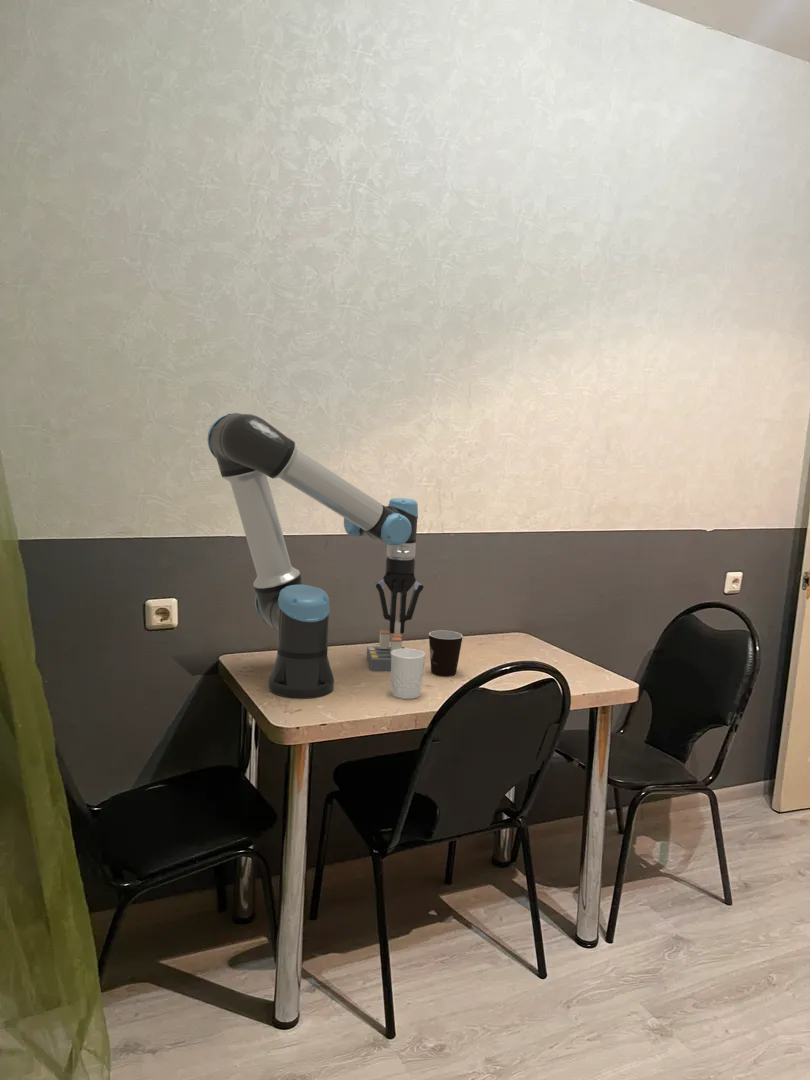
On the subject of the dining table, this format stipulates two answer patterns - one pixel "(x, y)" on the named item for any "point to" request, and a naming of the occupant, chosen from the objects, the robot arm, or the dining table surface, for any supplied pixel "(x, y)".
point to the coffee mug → (444, 652)
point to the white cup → (406, 673)
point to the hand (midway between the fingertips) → (395, 645)
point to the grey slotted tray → (379, 658)
